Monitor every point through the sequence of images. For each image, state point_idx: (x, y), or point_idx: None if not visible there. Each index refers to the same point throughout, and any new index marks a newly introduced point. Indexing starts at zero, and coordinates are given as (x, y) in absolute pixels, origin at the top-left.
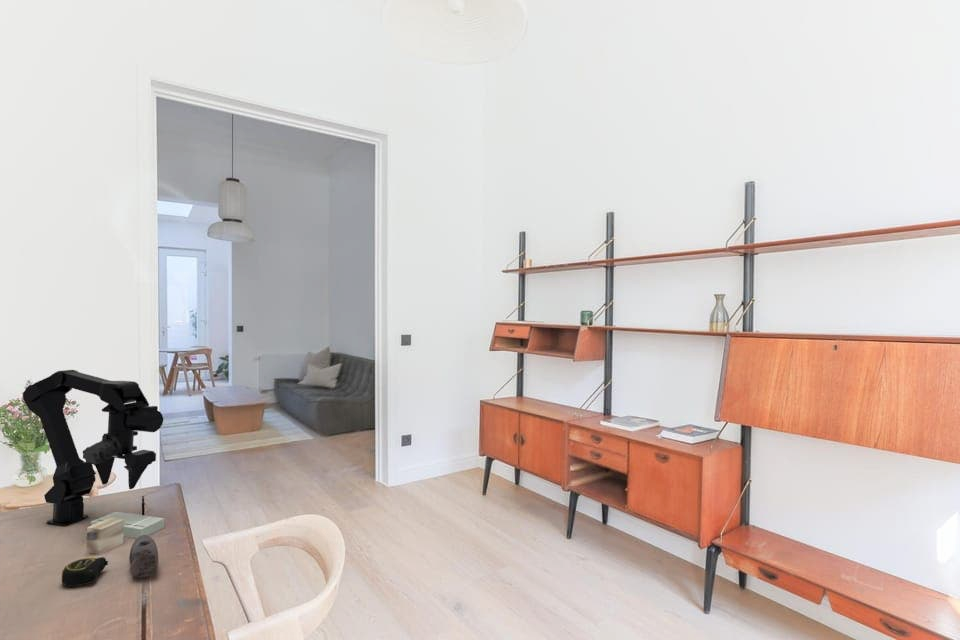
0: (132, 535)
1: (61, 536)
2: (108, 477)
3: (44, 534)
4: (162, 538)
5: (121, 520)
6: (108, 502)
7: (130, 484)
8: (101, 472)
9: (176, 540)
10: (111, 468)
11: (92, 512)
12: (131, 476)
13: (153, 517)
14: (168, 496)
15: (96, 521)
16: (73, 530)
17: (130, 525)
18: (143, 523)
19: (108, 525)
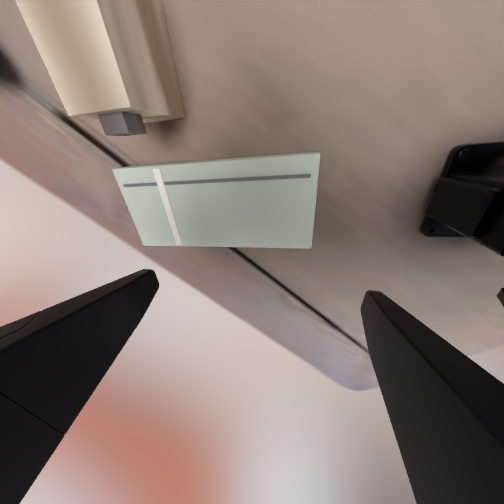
0: (155, 164)
1: (389, 66)
2: (373, 351)
3: (496, 43)
4: (101, 188)
5: (64, 102)
6: (439, 319)
7: (111, 283)
8: (448, 390)
9: (68, 190)
10: (402, 456)
11: (436, 263)
12: (12, 323)
13: (172, 243)
14: (310, 355)
15: (300, 164)
16: (386, 133)
17: (162, 177)
18: (150, 204)
19: (26, 10)
